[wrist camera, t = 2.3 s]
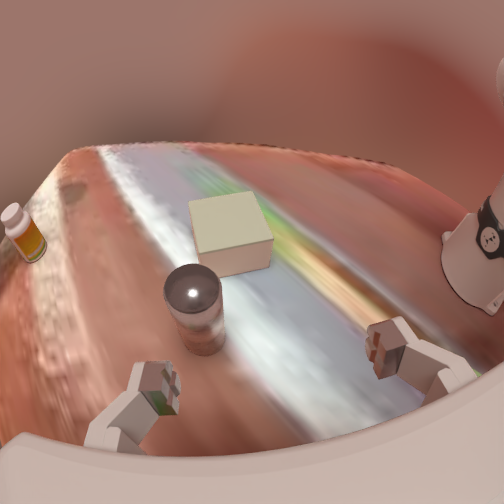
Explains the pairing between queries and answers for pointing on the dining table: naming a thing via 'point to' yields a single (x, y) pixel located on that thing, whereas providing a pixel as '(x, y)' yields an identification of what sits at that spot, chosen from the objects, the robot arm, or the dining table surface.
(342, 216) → the dining table surface
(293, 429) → the dining table surface
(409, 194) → the dining table surface
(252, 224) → the beige block
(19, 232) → the supplement bottle
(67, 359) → the dining table surface
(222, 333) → the canister
